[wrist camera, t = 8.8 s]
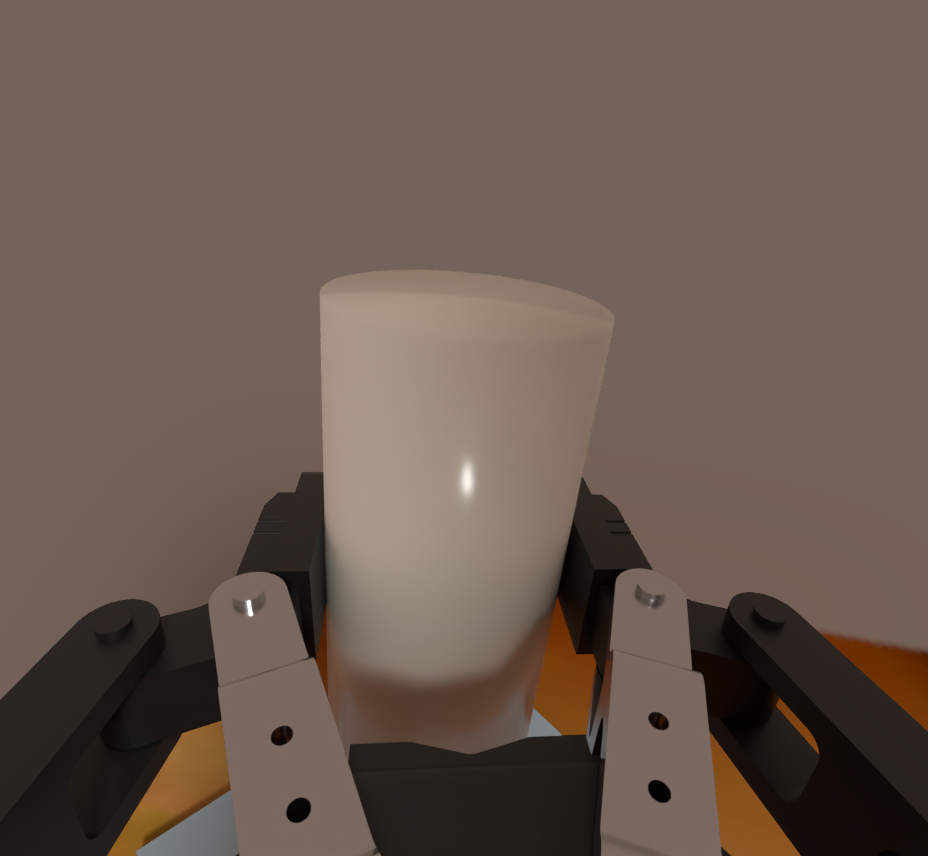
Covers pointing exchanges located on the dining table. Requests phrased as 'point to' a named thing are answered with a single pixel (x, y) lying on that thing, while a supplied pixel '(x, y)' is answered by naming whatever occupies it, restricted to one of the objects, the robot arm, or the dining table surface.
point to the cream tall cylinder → (449, 495)
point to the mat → (213, 827)
